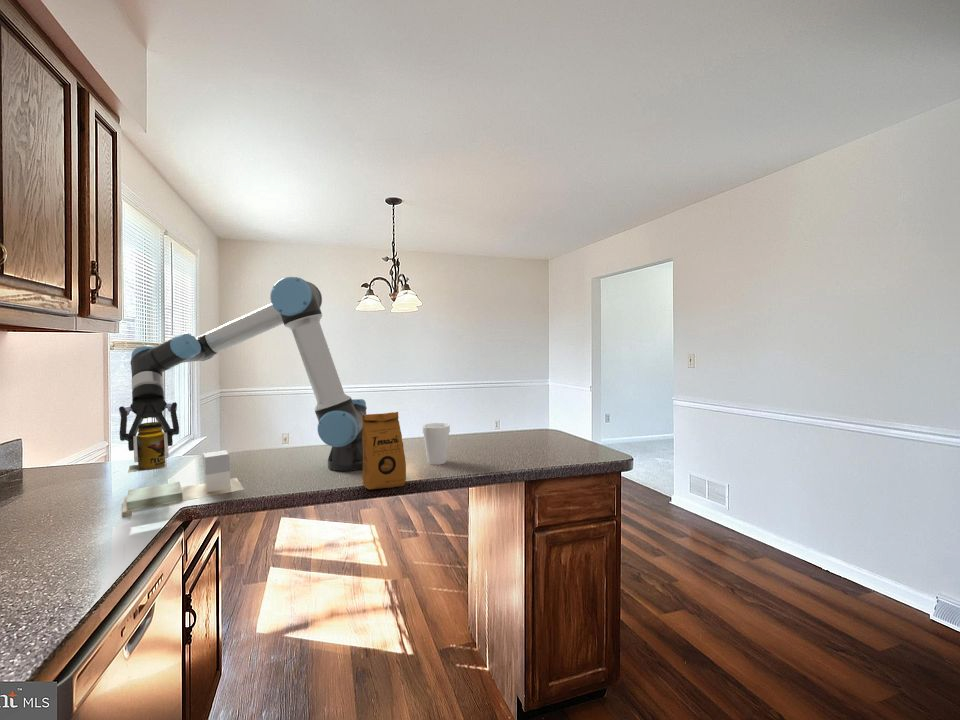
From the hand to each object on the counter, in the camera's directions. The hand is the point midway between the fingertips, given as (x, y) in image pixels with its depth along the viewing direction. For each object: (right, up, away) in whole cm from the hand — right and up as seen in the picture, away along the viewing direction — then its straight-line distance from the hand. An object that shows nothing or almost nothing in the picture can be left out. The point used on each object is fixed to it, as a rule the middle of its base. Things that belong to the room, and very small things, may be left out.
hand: (151, 457), depth 125 cm
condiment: (-3, -4, +3) cm, 5 cm away
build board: (+4, -13, +8) cm, 16 cm away
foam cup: (+72, -10, +40) cm, 83 cm away
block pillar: (+11, -11, +12) cm, 20 cm away
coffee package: (+59, -12, +15) cm, 62 cm away
